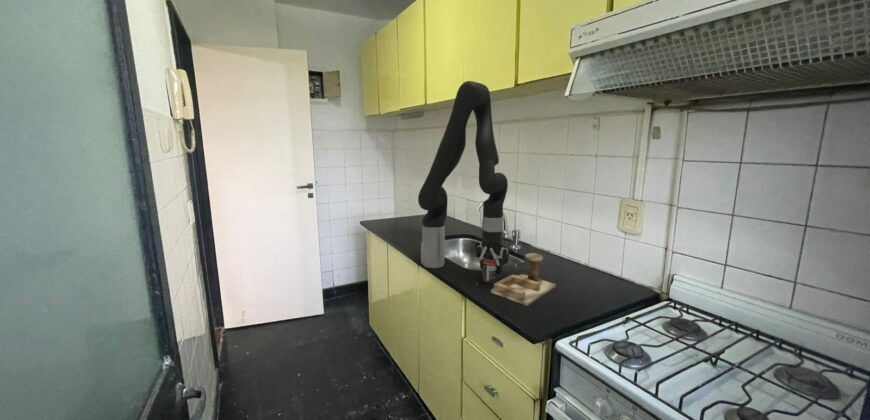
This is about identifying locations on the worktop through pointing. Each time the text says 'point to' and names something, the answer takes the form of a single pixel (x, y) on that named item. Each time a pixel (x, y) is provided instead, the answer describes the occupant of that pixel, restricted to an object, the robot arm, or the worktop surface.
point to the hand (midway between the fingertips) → (490, 271)
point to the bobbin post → (533, 266)
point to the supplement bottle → (489, 269)
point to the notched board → (521, 289)
